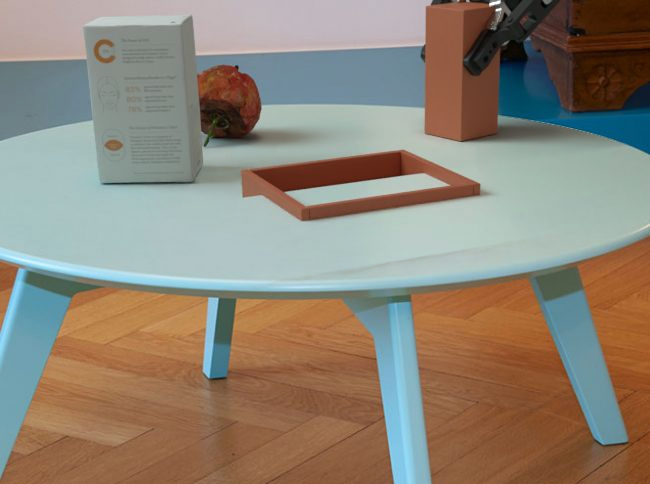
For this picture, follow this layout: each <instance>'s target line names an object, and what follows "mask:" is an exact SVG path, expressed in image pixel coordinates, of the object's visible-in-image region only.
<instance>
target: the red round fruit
mask: <svg viewBox="0 0 650 484" xmlns="http://www.w3.org/2000/svg"><path fill="white" fill-rule="evenodd" d="M239 69H240V66H239V65H238V64H235V65H234V66H233V65H229V64H218V65H215V66H211V67H209V68H208V69H205V70H203V71H200V72H197V81H198V94H199V106H200V120H201V133H202V134H204V135H207V136H206V138H205V141H204V143H203V144H202V147H203V148H207V146H208V144H209V142H210V139H211V138H212V137H215V138H217V137H219V138H221V137H230V138H237V139H238V138H243V137H245V136H247V135H249V134H250V133H251V132H252V131H253V130H254V128H255V127H256V125H257V123H258V122H259V121H260V117H261V113H262V112H261V111H262V109H263V108H262V107H263V105H262V101H261V97H260V92H259V88H258V86H257V84H256V82H255V79H254V78H253V77H252V76H250V75H249V74H248V73H246V72H240V71H239Z"/></svg>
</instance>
